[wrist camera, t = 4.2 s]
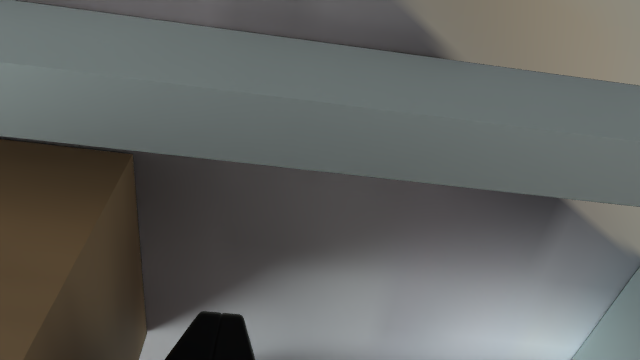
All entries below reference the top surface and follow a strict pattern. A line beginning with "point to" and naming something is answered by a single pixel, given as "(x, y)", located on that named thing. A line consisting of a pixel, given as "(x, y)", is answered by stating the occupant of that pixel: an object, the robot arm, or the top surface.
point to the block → (69, 254)
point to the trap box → (324, 114)
